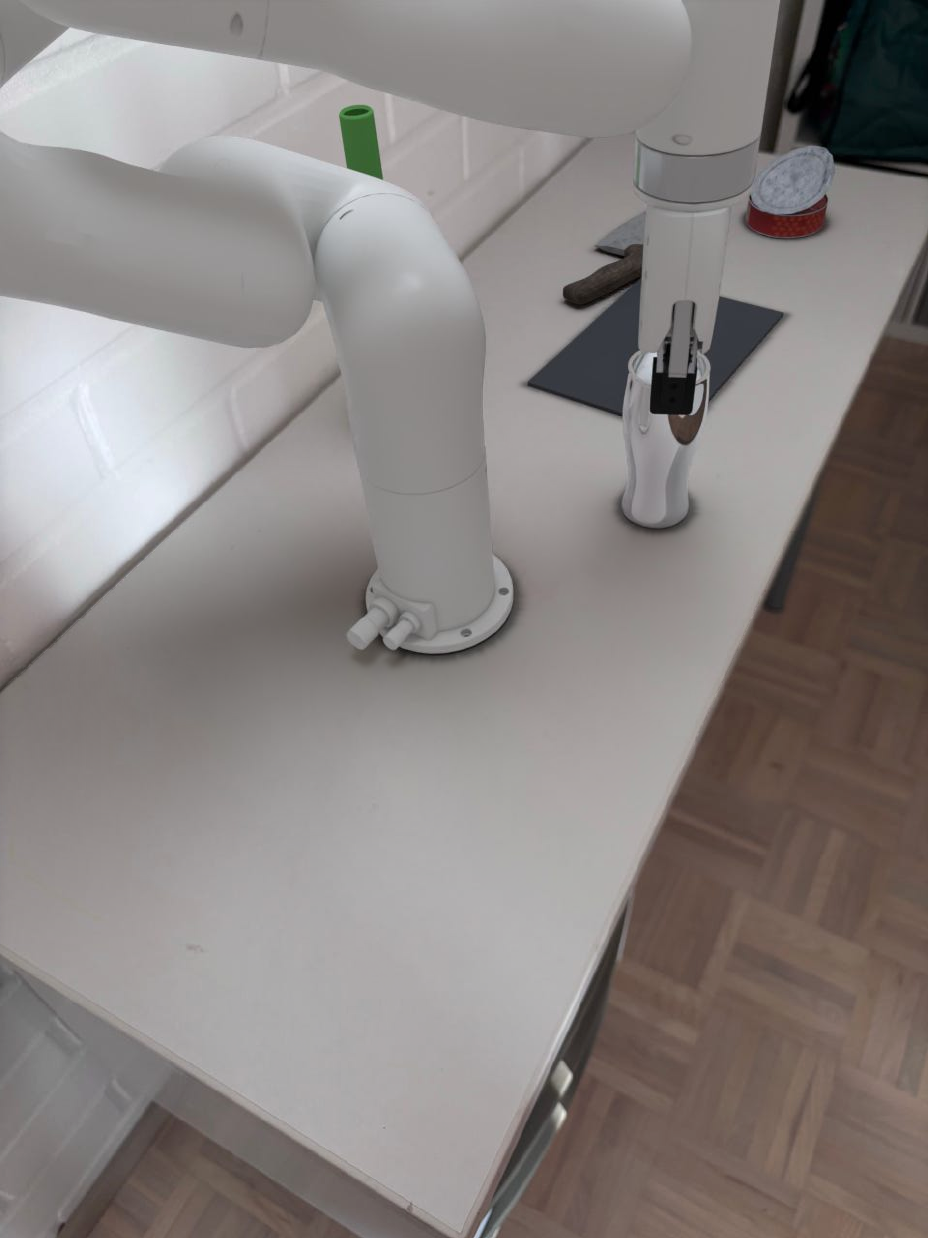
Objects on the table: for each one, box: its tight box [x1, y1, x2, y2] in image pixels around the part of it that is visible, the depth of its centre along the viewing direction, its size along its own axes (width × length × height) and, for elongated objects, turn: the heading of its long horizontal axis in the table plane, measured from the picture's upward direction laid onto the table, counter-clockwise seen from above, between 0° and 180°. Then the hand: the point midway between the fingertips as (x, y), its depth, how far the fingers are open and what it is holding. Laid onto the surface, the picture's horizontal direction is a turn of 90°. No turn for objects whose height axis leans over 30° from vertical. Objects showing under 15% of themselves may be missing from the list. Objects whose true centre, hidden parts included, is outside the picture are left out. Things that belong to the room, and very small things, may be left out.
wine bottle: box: [338, 104, 384, 180], centre depth 89 cm, size 8×8×30 cm
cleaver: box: [562, 210, 647, 305], centre depth 120 cm, size 29×10×2 cm, turn 140°
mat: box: [527, 277, 784, 417], centre depth 105 cm, size 26×18×1 cm
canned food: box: [744, 145, 836, 240], centre depth 121 cm, size 11×10×10 cm
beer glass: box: [621, 350, 710, 529], centre depth 82 cm, size 7×7×15 cm
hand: (670, 407), depth 73 cm, fingers closed
